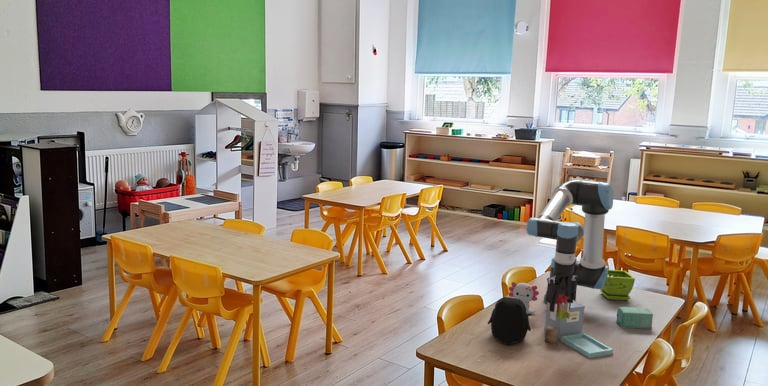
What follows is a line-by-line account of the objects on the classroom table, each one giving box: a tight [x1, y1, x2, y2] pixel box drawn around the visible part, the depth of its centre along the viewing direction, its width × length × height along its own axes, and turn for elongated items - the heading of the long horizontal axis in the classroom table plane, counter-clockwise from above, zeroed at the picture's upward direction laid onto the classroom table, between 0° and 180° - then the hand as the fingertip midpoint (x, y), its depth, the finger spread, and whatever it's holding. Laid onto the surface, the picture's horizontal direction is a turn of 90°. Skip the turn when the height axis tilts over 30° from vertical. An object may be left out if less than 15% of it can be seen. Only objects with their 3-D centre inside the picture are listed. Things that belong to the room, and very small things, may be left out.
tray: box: [560, 332, 614, 359], centre depth 255 cm, size 17×12×2 cm
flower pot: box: [599, 269, 636, 301], centre depth 317 cm, size 14×14×13 cm
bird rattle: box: [548, 294, 570, 322], centre depth 247 cm, size 6×11×9 cm
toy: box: [508, 281, 540, 315], centre depth 287 cm, size 14×8×15 cm, turn 68°
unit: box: [544, 300, 586, 339], centre depth 268 cm, size 11×12×13 cm
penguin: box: [487, 296, 532, 345], centre depth 259 cm, size 18×18×17 cm
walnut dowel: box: [544, 326, 558, 346], centre depth 258 cm, size 5×5×6 cm
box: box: [616, 306, 654, 330], centre depth 281 cm, size 7×14×8 cm, turn 88°
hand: (559, 318), depth 247 cm, fingers closed on bird rattle, 5 cm apart
